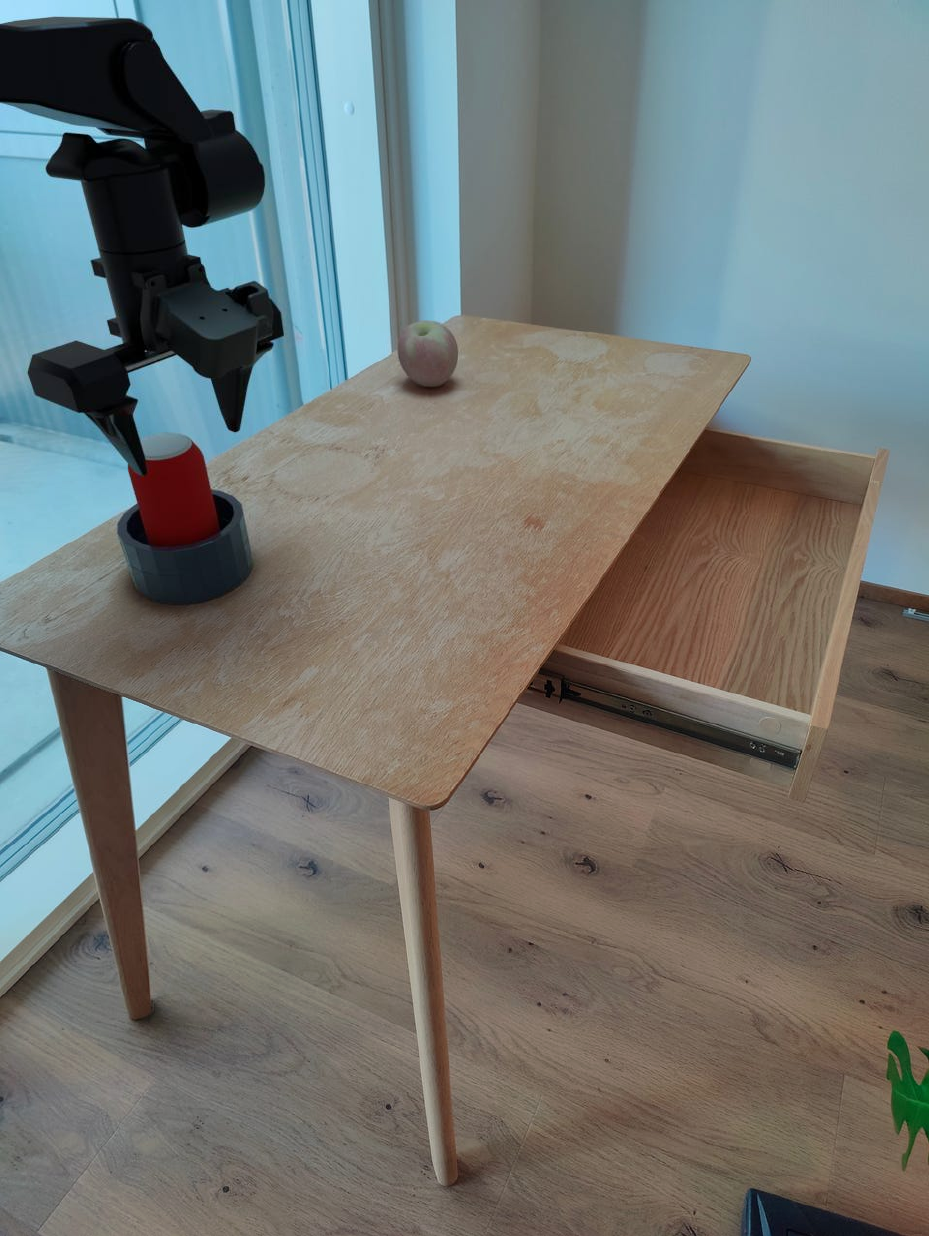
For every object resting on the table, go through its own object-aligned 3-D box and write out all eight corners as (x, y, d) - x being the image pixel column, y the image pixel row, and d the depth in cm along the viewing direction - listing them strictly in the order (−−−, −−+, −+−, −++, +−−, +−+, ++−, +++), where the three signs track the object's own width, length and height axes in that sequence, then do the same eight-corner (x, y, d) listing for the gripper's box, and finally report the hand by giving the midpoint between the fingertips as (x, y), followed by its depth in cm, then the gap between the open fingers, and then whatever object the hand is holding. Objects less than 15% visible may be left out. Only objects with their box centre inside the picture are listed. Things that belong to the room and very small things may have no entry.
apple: (388, 382, 110) (384, 321, 105) (435, 368, 114) (433, 309, 109) (421, 401, 105) (419, 338, 100) (470, 387, 109) (470, 325, 104)
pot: (184, 619, 70) (170, 566, 67) (108, 577, 75) (91, 525, 72) (277, 562, 77) (267, 510, 74) (201, 526, 82) (190, 476, 79)
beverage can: (147, 584, 73) (110, 461, 66) (169, 545, 78) (138, 426, 71) (215, 585, 73) (186, 462, 66) (234, 546, 78) (209, 427, 71)
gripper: (94, 299, 47) (158, 534, 57) (323, 231, 59) (344, 435, 69) (-13, 267, 52) (62, 487, 62) (217, 211, 64) (250, 403, 74)
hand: (189, 451), depth 66 cm, fingers open, 9 cm apart
